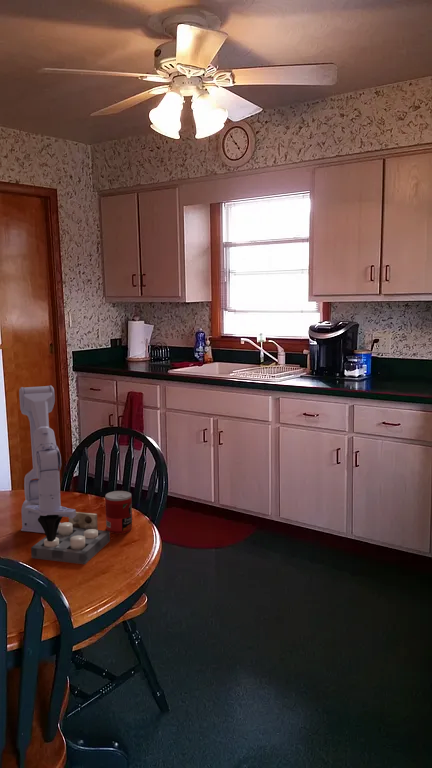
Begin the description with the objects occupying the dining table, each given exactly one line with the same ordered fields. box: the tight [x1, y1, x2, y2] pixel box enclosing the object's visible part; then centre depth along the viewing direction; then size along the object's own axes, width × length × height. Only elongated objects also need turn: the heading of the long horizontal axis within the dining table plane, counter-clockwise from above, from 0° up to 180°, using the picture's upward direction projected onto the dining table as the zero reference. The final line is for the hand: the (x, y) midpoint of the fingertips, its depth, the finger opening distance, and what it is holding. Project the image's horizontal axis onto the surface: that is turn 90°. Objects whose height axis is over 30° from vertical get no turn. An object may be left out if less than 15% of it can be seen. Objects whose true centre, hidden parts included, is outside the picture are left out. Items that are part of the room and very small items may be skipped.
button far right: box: [84, 529, 99, 539], centre depth 176 cm, size 4×4×3 cm
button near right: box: [70, 535, 85, 550], centre depth 168 cm, size 4×4×3 cm
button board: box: [30, 527, 111, 565], centre depth 173 cm, size 16×16×3 cm
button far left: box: [58, 521, 73, 536], centre depth 178 cm, size 4×4×3 cm
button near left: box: [44, 537, 59, 547], centre depth 170 cm, size 4×4×3 cm
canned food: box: [104, 490, 133, 535], centre depth 187 cm, size 8×8×11 cm
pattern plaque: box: [68, 511, 99, 530], centre depth 184 cm, size 9×1×6 cm, turn 75°
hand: (51, 540), depth 170 cm, fingers closed, pressing on button near left
